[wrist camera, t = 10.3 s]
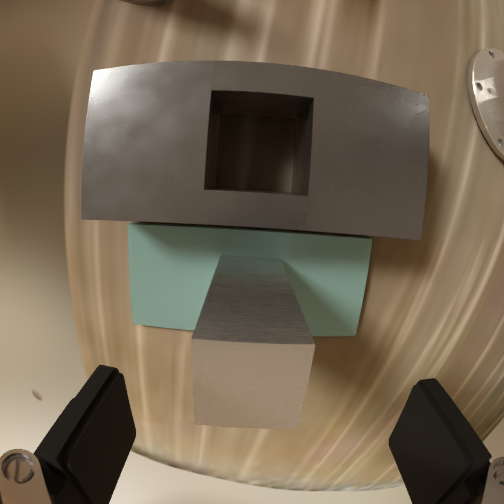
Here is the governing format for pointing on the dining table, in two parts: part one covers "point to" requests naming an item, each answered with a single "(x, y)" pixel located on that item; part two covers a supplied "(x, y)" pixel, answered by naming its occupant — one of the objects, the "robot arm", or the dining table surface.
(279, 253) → the mat
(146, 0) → the lighter
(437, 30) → the dining table surface
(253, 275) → the peg
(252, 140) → the dining table surface
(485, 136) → the robot arm
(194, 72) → the rail
